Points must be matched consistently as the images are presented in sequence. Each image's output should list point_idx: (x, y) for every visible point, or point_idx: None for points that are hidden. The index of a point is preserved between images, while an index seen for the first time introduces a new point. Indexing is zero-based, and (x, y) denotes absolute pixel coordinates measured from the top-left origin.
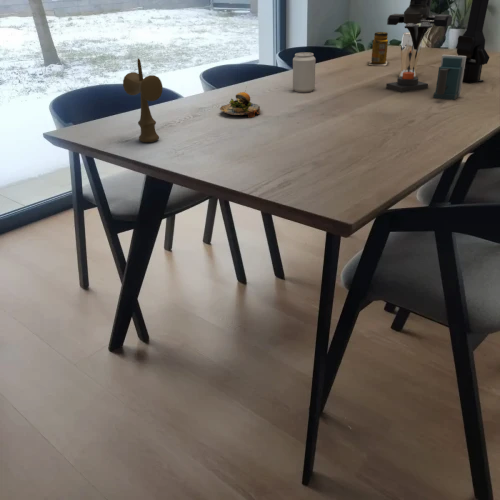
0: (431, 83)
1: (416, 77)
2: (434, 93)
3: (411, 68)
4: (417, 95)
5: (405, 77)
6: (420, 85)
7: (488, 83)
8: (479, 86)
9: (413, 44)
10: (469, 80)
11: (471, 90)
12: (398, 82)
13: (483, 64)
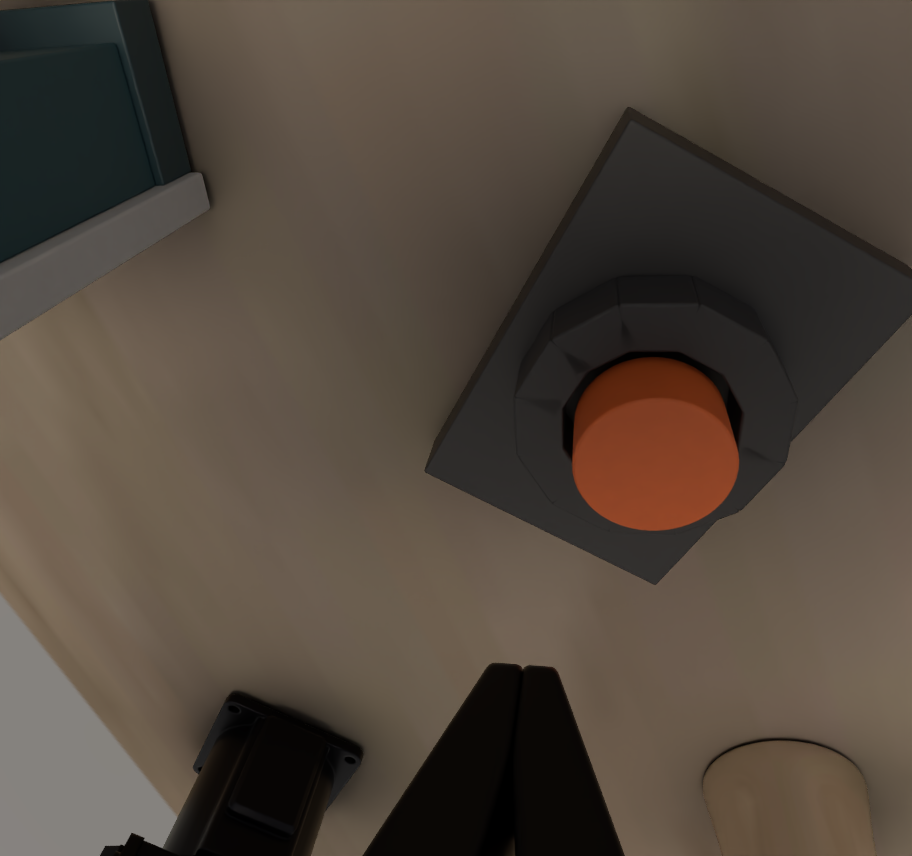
0: (497, 640)
1: (556, 489)
2: (111, 2)
3: (758, 839)
4: (391, 74)
5: (667, 374)
6: (475, 383)
7: (149, 731)
8: (139, 646)
9: (574, 762)
10: (246, 730)
11: (101, 516)
12: (750, 311)
13: (103, 850)
